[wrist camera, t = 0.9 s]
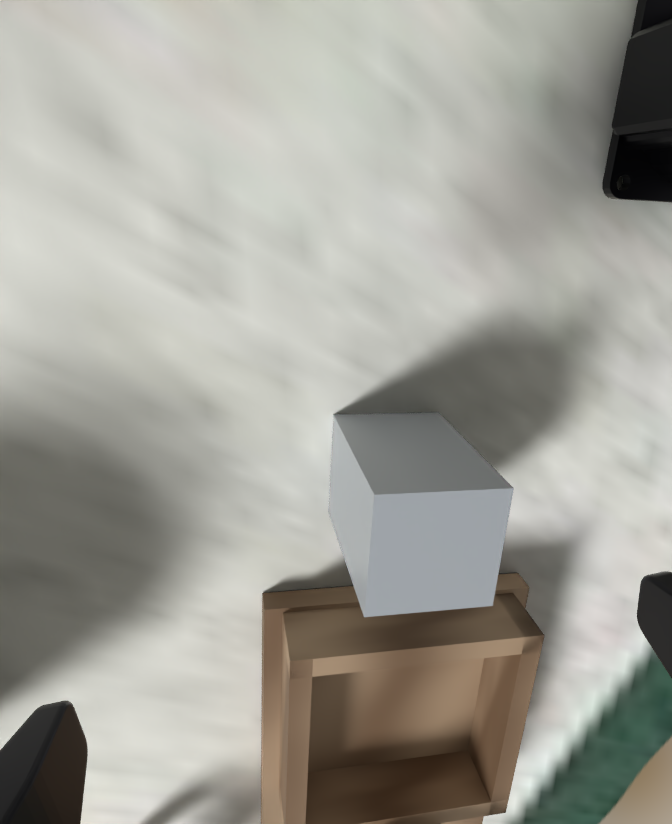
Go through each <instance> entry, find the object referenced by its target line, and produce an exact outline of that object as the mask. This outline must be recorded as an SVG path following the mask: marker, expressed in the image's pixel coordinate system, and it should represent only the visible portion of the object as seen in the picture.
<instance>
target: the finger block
mask: <svg viewBox="0 0 672 824" xmlns="http://www.w3.org/2000/svg"><path fill="white" fill-rule="evenodd" d="M513 489H514V488H513V487H512V486H511V485H510V484H509V483H508V482H507V481H506V480H505V479H504V478H503V477H502V476H501V475H500V474H499V473H498V472H497V471H496V470H495V469H494V468H493V467H492V466H491V465H490V464H489V463H488V462H487V461H486V460H485V459H484V458H483V457H482V456H481V455H480V454H479V453H478V452H477V451H476V450H475V449H474V448H473V447H472V446H471V445H470V444H469V443H468V442H467V441H466V440H465V439H464V438H463V437H462V436H461V435H460V434H459V432H458V431H457V430H456V429H455V428H454V427H453V426H452V425H451V424H450V423H449V422H448V421H447V420H446V419H445V418H444V417H443V416H442V415H441V414H440V413H439V412H431V413H381V414H333V432H332V452H331V471H330V490H329V509H328V512H329V515H330V518H331V521H332V524H333V527H334V530H335V533H336V536H337V539H338V542H339V545H340V548H341V551H342V554H343V556H344V559H345V562H346V565H347V568H348V571H349V574H350V577H351V580H352V583H353V586H354V589H355V592H356V595H357V598H358V601H359V604H360V607H361V610H362V613H363V616H364V617H373V616H385V615H396V614H407V613H419V612H430V611H441V610H452V609H464V608H475V607H486V606H493V601H494V596H495V590H496V584H497V579H498V573H499V568H500V562H501V556H502V551H503V545H504V539H505V534H506V528H507V522H508V517H509V511H510V506H511V500H512V494H513Z"/></svg>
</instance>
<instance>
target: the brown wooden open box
mask: <svg viewBox="0 0 672 824" xmlns="http://www.w3.org/2000/svg"><path fill="white" fill-rule="evenodd" d="M528 592H529V586H528V585H527V584H526V582H525V581H524V580H523V579H522V577H521V576H520V575H519V574H518V573H511V574H498V579H497V584H496V590H495V596H494V601H493V606H486V607H475V608H464V609H452V610H441V611H430V612H419V613H407V614H396V615H385V616H373V617H364V616H363V613H362V610H361V607H360V604H359V601H358V598H357V595H356V592H355V589H354V586H346V587H334V588H321V589H308V590H296V591H283V592H270V593H263V597H262V742H261V824H482V821H483V816H488V815H494V814H500V813H506V808H507V804H508V799H509V794H510V790H511V785H512V781H513V776H514V772H515V767H516V763H517V758H518V753H519V749H520V744H521V740H522V735H523V731H524V726H525V721H526V717H527V712H528V708H529V703H530V699H531V694H532V690H533V685H534V680H535V676H536V671H537V667H538V662H539V658H540V653H541V648H542V644H543V639H544V634H543V633H542V631H541V630H540V629H539V627H538V626H537V624H536V623H535V622H534V620H533V619H532V618H531V616H530V615H529V614H528V612H527V611H526V610H525V607H526V602H527V597H528Z"/></svg>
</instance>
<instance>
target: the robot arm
mask: <svg viewBox="0 0 672 824" xmlns="http://www.w3.org/2000/svg"><path fill="white" fill-rule="evenodd" d="M612 128H613V132H612V137H611V142H610V147H609V153H608V158H607V163H606V168H605V173H604V178H603V191H604V194H605V195H606V196H607V197H608V198H612V199H624V200H641V201H658V202H672V0H638V5H637V10H636V15H635V20H634V25H633V30H632V35H631V39H630V40H629V42H628V45H627V51H626V56H625V61H624V66H623V71H622V76H621V81H620V86H619V92H618V97H617V102H616V107H615V112H614V117H613V122H612ZM620 176H621V177H622V179H623V184H622V186H621V188H620V189H619V190H618V188H617V180H618V178H619V177H620ZM637 619H638V623H639V626H640V629H641V630H642V632H643V634H644V635H645V637H646V639H647V640H648V642H649V643H650V645H651V646H652V648H653V650H654V651H655V653H656V654H657V656H658V658H659V659H660V661H661V662H662V664H663V665H664V667H665V669H666V670H667V672H668V673H669V675H670V676H671V678H672V572H660V573H655V574H650V575H647V576H645V577H644V578H643V579H642V581H641V585H640V593H639V601H638V610H637ZM86 766H87V742H86V738H85V735H84V732H83V730H82V727H81V725H80V722H79V719H78V717H77V714H76V711H75V709H74V707H73V705H72V703H71V702H69V701H61V702H56V703H51V704H47V705H43V706H40V707H39V708H37V709H36V710H35V711H34V712H33V713H32V715H31V716H30V717H29V718H28V719H27V720H26V721H25V723H24V724H23V725H22V726H21V727H20V728H19V729H18V731H17V732H16V733H15V734H14V735H13V736H12V737H11V739H10V740H9V741H8V742H7V743H6V744H5V746H4V747H3V748H2V749H1V750H0V824H80V821H81V812H82V803H83V793H84V784H85V775H86Z"/></svg>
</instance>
